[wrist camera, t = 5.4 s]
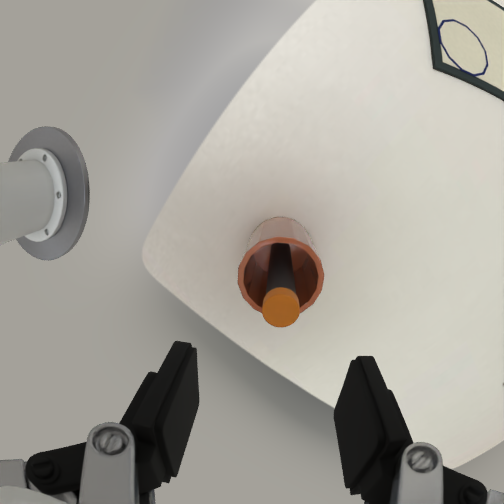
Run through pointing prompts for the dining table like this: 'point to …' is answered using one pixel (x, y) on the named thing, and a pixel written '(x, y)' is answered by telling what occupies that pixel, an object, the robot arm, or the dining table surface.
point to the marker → (280, 288)
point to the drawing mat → (468, 41)
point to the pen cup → (258, 257)
